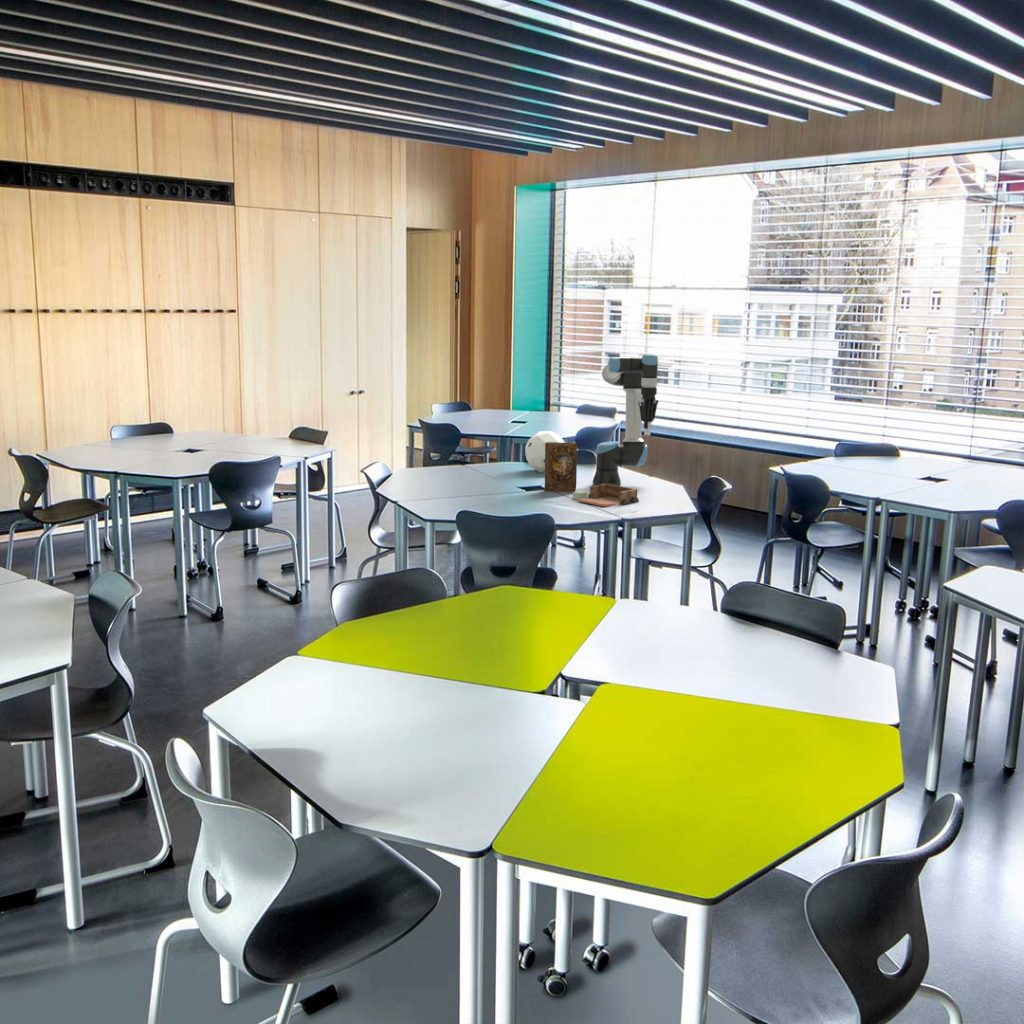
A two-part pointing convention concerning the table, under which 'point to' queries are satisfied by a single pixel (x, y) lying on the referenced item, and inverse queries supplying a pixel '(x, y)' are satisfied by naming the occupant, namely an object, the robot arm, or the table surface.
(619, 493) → the wooden toy wagon
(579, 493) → the block
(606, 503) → the tailgate
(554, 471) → the book
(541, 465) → the geometric sculpture
